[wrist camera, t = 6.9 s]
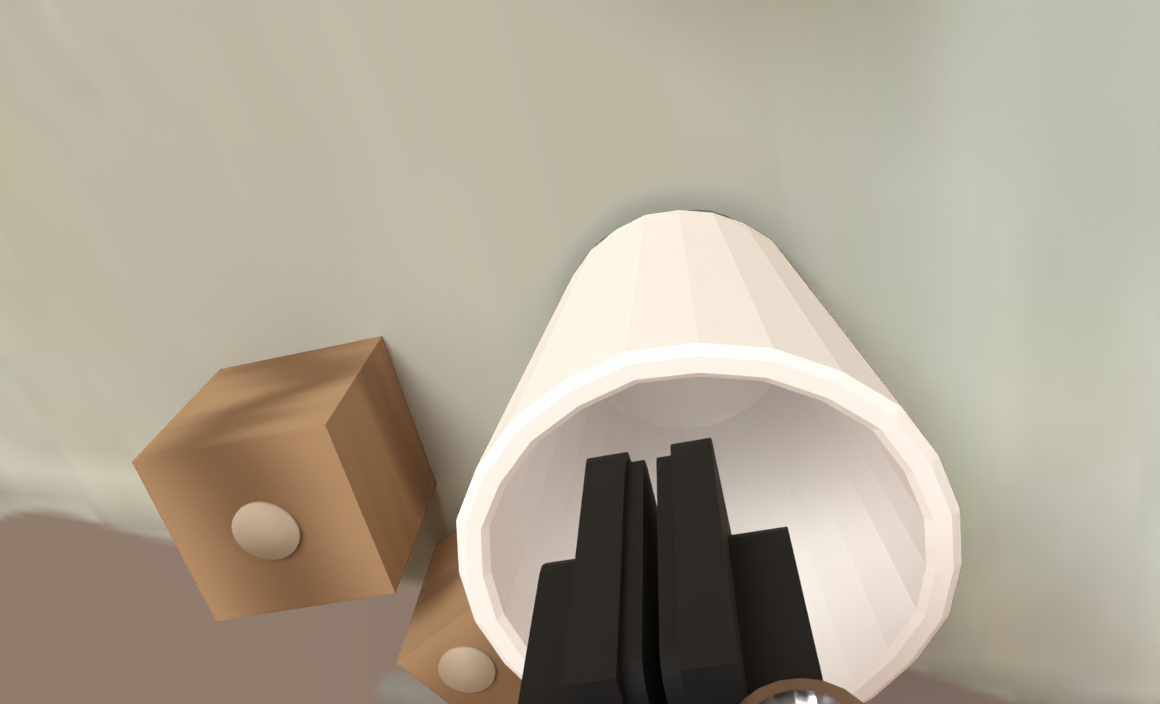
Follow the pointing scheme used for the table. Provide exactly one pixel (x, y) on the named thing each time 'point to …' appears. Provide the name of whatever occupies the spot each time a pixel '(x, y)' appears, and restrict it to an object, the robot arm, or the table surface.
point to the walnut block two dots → (453, 640)
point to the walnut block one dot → (293, 481)
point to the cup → (719, 441)
